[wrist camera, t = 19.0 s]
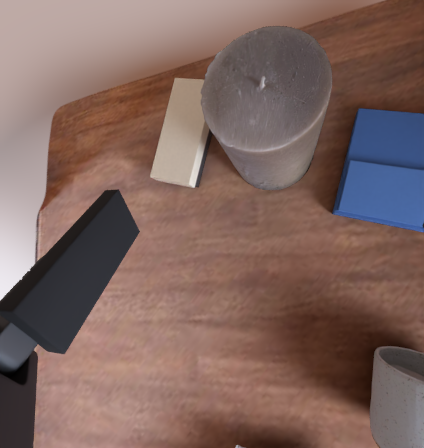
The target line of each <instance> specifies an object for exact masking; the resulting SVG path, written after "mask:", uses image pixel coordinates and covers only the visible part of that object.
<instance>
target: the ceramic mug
mask: <svg viewBox="0 0 424 448" xmlns="http://www.w3.org/2000/svg"><path fill="white" fill-rule="evenodd" d="M370 426H371V432H372V436H373V438H374V440H375V442H376V444H377V445H378V447H379V448H424V353H422V352H418V351H414V350H411V349H407V348H401V347H393V346H384V347H379V348H377V349H376V350H375V352H374V364H373V377H372V396H371V405H370Z"/></svg>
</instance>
